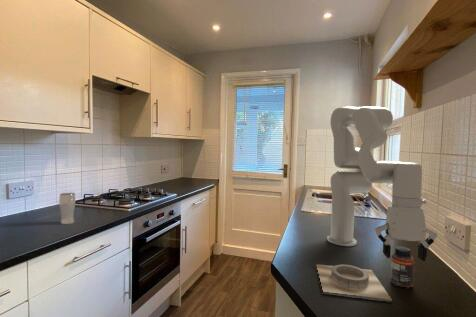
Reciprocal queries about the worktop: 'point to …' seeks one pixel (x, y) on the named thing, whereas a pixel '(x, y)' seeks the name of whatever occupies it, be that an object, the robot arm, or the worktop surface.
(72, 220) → the beer glass
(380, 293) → the collar board
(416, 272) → the worktop surface
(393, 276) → the supplement bottle
